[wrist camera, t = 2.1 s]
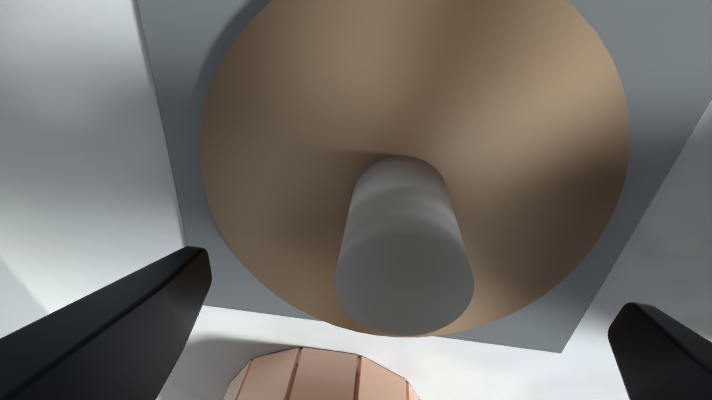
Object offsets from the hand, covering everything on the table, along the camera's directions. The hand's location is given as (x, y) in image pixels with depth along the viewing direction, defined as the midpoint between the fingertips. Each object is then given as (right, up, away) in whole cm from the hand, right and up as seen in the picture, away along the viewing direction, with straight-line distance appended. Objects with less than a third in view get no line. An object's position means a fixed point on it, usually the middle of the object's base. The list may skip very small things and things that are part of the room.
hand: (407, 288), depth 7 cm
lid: (0, +2, +4) cm, 5 cm away
